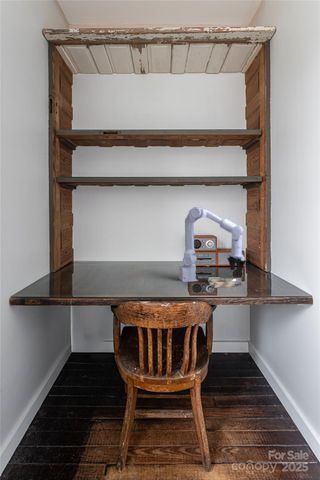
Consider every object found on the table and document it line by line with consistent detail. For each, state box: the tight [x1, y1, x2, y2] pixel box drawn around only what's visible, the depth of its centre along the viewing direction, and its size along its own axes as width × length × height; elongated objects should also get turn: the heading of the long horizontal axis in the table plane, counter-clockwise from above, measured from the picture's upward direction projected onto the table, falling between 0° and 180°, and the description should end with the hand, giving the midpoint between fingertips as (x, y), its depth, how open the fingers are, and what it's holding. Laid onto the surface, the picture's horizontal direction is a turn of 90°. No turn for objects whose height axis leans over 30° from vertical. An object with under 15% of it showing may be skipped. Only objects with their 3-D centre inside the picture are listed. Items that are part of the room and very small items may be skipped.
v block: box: [207, 276, 225, 283], centre depth 182 cm, size 8×5×2 cm, turn 106°
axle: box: [224, 277, 243, 286], centre depth 177 cm, size 9×4×4 cm, turn 105°
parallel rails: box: [208, 278, 236, 289], centre depth 175 cm, size 12×7×2 cm, turn 106°
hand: (235, 271), depth 177 cm, fingers open, 7 cm apart
